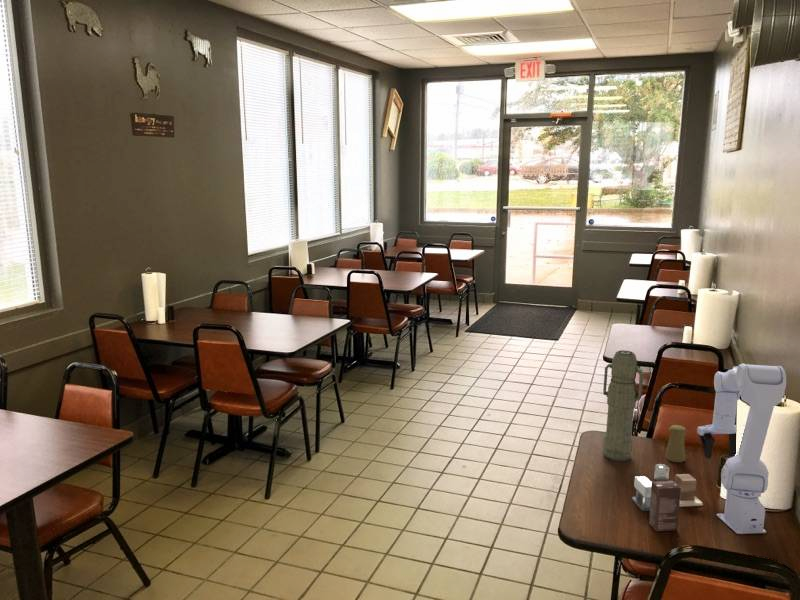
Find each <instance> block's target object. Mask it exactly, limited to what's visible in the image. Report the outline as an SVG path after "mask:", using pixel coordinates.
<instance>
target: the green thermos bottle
mask: <svg viewBox="0 0 800 600" xmlns="http://www.w3.org/2000/svg"><path fill="white" fill-rule="evenodd" d="M609 368H610V369H611V372H610V375H611V378H610V383H609V384H607V382H608V371H609ZM637 373H638V374H639V379H638V389H637V386H636V384H637V382H636V378H637ZM644 374H645V373H644V371H643V369H642V368H639V367H638V359H637V356H636V354H635V353H634V352H632V351H630V350H622V349H621V350H617V351H615V354H614V355H613V358H612V361H611V363H608V364H607V365H605V367H604V377H603V390H602V391H603V396H606V398H607V399H606V403H607V415H606V416H607V417H606V431H605V434H604V436H603V456H604V457H605V456H606V457H605V458H607V459H609V458H610V459H609V460H612V461H615V462H616V461H617V462H625V461H629V460H631V459H632V452H633V444H634V443H633V442H634V440H633V435H632V434H633V433H632V432H633V425H634V424H633V422H634V412H635V411H634V410H635V408H636V405H637V402H638V401H639V400H641V399H642V391H643V384H644V378H645V377H644ZM607 385H608V387H607Z"/></svg>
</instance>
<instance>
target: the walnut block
mask: <svg viewBox="0 0 800 600" xmlns="http://www.w3.org/2000/svg"><path fill="white" fill-rule="evenodd" d="M674 475H675V476H674V482H675V483H676V484H678V485H679V486H680V487H681V492H680V500H681V501H690V500H695V497H696V489H697V481H698V480H697V479H696V478H695V477H693V476H692V475H691V474H690V473H681V474H680V473H678V474H677V473H676V474H674Z"/></svg>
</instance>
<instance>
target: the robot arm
mask: <svg viewBox="0 0 800 600" xmlns="http://www.w3.org/2000/svg"><path fill="white" fill-rule="evenodd" d="M786 373H787V372H786V370H785V369H784V367H782V365H763V364H762V365H761V364H760V365H759V364H748V363H747V364H746V363H740V364H739V365H737V366H736V365H735V366H733V367H732V369H728V370H727V371H725V372H722V371H717V372H716V373H715V374H714V378H713V387H714V391H715V396H714V407H713V417H712V424H706V425H702V426H697V429H696V433H697V435H698V437H699V438H700V439H699V440H700V442H701V444H702V448H703V454H704V457H705V458H707V459H708V460H710V459H711V458H712V453H713V448H714V444H715V442H716V438H715V437H713V435H728V437H729V439H728V440H729V446H728V448H729V449H728V456H729V458H727V459H726V461H725V463H724V466H723V467H722V468H721V472H720V478H721V485H722V486H723V488H724V489H725V490H726V496H725V497H726V498H725V505H724V512H723V513H717V514H716V517H718V518H719V519H720V521H722V522H723V523H724V524H725V525H727V526H728V527H729V528H730V529H731V530H732V531H733V532H735V533H736V534H737V535H739V534H740V535H745V534H766V533H767V530H766V529H764V526H765V519H766V518H765V517H766V509H765V506H764V504H763V503H762V502H761V500H760V497H762V494H764V493H766V491H767V490H768V486H769V469H768V467H767V465H766V464H765V462H763V460H761V456H762V452H763V448H764V445H765V441H766V437H767V435H768V434H767V433H768V430H769V427H770V423H771V419H772V415H773V412H774V408H775V406H777V405H779V404H781V403H782V401H783V398H784V395H785V391H786V387H787V374H786ZM740 397H741V400H742V401H743V402H745V403H747V404H748V405H749V409H748V414H747V417H746V421H745V425H744V426H745V429H744V433H743V437H742V441H741V445H740V448H739V450H738V452H737V455H736V456H735V454H736V431H737V430H736V425H737V424H735V423H736V416H737V406H738V401H739V400H740Z"/></svg>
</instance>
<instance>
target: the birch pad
mask: <svg viewBox="0 0 800 600" xmlns="http://www.w3.org/2000/svg"><path fill="white" fill-rule="evenodd" d="M703 505H704V504H703V502H702V501H701V500H700V499H699V498H698V497H697V496H695V500H690V501H681V500H680V505H679V508H681V507H702V506H703Z"/></svg>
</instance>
